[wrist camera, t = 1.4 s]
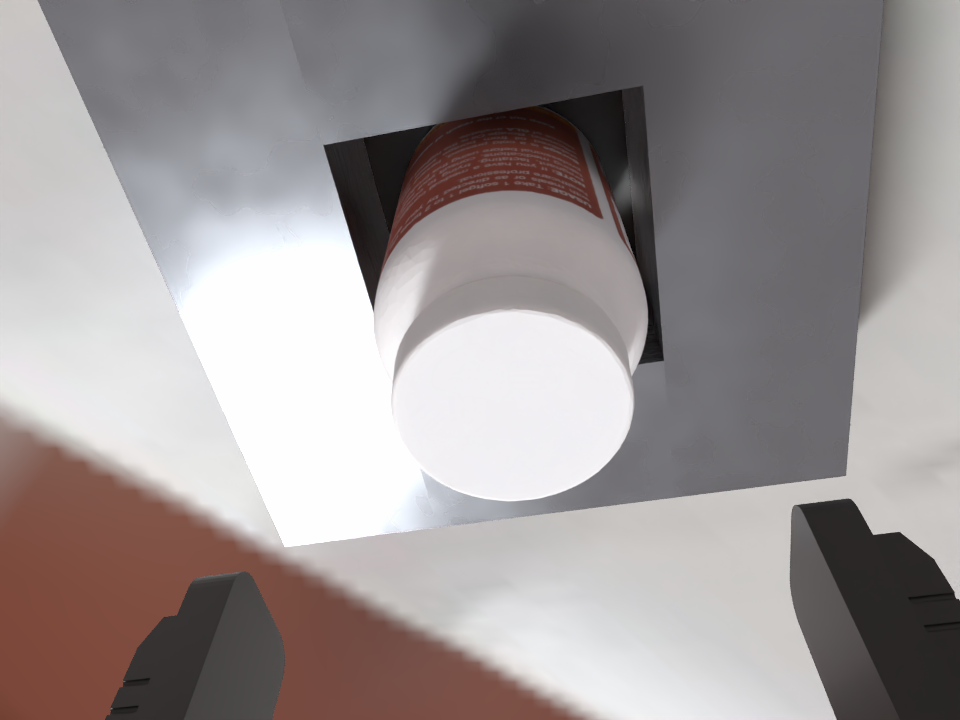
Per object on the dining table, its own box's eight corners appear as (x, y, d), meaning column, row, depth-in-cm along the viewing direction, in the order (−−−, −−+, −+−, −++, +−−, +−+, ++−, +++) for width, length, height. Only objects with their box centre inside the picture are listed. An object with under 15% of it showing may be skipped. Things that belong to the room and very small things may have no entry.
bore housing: (103, -69, 21) (15, -50, 17) (820, -231, 18) (903, -251, 15) (311, 458, 30) (285, 546, 26) (798, 391, 28) (845, 475, 24)
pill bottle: (362, 199, 24) (281, 416, 15) (501, 46, 22) (506, 194, 13) (506, 319, 27) (512, 574, 17) (647, 193, 24) (742, 411, 15)
